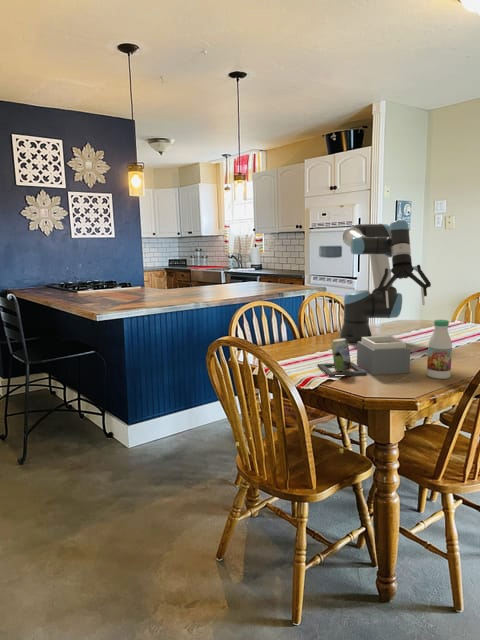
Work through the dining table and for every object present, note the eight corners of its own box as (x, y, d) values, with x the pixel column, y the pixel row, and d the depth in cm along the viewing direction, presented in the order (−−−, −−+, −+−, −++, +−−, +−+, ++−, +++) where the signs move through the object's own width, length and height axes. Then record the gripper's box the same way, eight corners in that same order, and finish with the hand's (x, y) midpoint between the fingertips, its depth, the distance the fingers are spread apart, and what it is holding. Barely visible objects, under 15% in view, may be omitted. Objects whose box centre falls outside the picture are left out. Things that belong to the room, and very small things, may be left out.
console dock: (356, 364, 183) (357, 336, 181) (390, 362, 185) (392, 334, 183) (372, 375, 169) (373, 345, 167) (409, 373, 170) (410, 343, 169)
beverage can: (351, 373, 171) (352, 341, 169) (330, 372, 173) (331, 340, 170) (351, 368, 177) (351, 337, 175) (331, 367, 179) (331, 336, 177)
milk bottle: (422, 373, 170) (425, 318, 166) (443, 372, 170) (446, 318, 167) (433, 379, 162) (436, 322, 159) (454, 379, 163) (458, 322, 159)
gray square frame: (317, 366, 181) (317, 363, 181) (352, 364, 183) (352, 362, 182) (328, 376, 167) (328, 374, 167) (366, 374, 169) (366, 372, 169)
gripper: (369, 256, 195) (372, 305, 189) (434, 249, 187) (439, 299, 181) (371, 263, 202) (374, 311, 196) (433, 256, 193) (438, 305, 187)
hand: (405, 305), depth 188 cm, fingers open, 13 cm apart
